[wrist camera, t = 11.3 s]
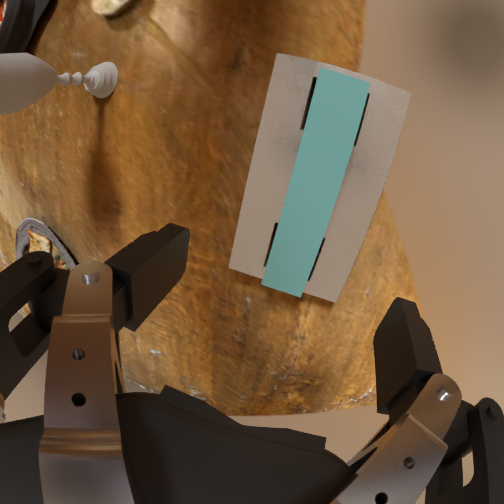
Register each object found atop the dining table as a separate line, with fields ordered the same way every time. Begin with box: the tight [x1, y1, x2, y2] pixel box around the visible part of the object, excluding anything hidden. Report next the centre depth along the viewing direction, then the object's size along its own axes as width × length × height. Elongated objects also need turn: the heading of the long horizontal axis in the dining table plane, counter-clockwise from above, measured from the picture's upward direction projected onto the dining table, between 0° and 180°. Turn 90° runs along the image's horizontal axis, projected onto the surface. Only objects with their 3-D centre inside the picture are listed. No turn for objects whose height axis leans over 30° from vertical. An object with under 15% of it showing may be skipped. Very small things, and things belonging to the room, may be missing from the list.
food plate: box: [16, 218, 76, 270], centre depth 45 cm, size 25×23×4 cm
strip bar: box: [261, 68, 370, 298], centre depth 25 cm, size 20×4×5 cm, turn 167°
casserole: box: [0, 0, 50, 54], centre depth 21 cm, size 25×19×8 cm
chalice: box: [0, 53, 118, 116], centre depth 20 cm, size 7×7×18 cm
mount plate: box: [229, 53, 411, 303], centre depth 26 cm, size 22×12×3 cm, turn 167°
